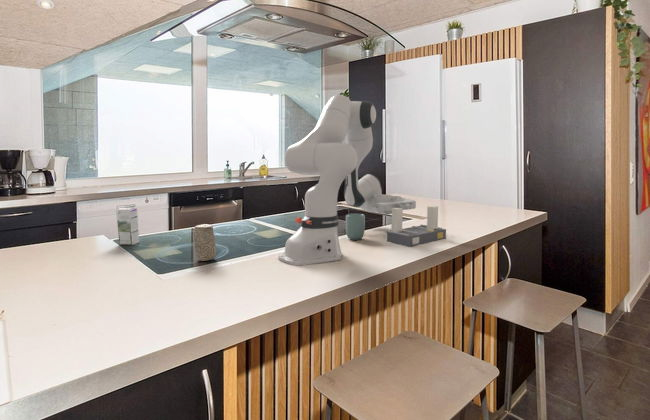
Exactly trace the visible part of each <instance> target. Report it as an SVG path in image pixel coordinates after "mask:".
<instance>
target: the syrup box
mask: <svg viewBox="0 0 650 420" xmlns="http://www.w3.org/2000/svg"><path fill="white" fill-rule="evenodd" d="M115 212H116V220H117V222H116V223H117V232H118V245H121V246H122V245H123V246H133V245H136V244H138V243H140V233H139V231H140V230H139V218H138V207H137V206H136V207H135V206H134V207H130V206H129V207H127V206H125V207H124V206H123V207H119V208H116V210H115Z"/></svg>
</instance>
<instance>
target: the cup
mask: <svg viewBox="0 0 650 420" xmlns="http://www.w3.org/2000/svg"><path fill="white" fill-rule="evenodd" d="M365 219H366V215H365V214H364V213H347V214H346V215H345V233H346V236H347V238H348V239H349V240H351V241H359V240H362V239H363V238H364V236H365V227H366V220H365Z"/></svg>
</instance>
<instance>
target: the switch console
mask: <svg viewBox="0 0 650 420" xmlns="http://www.w3.org/2000/svg"><path fill="white" fill-rule="evenodd" d="M446 239H447V229H446V228H442V227H438V228H437V229H428V228H427V224H420V225H416V226H415V225H412V226H411V227H407V228H405V227H404V228H402V231H400V232H394V231H391V230H387V231H386V243H391V244H395V245H400V246H404V247H409V248H412V247H417V246H419V245H420V246H421V245H425V244H430V243H434V242H438V240H439V241H441V240H442V241H443V240H446Z"/></svg>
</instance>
